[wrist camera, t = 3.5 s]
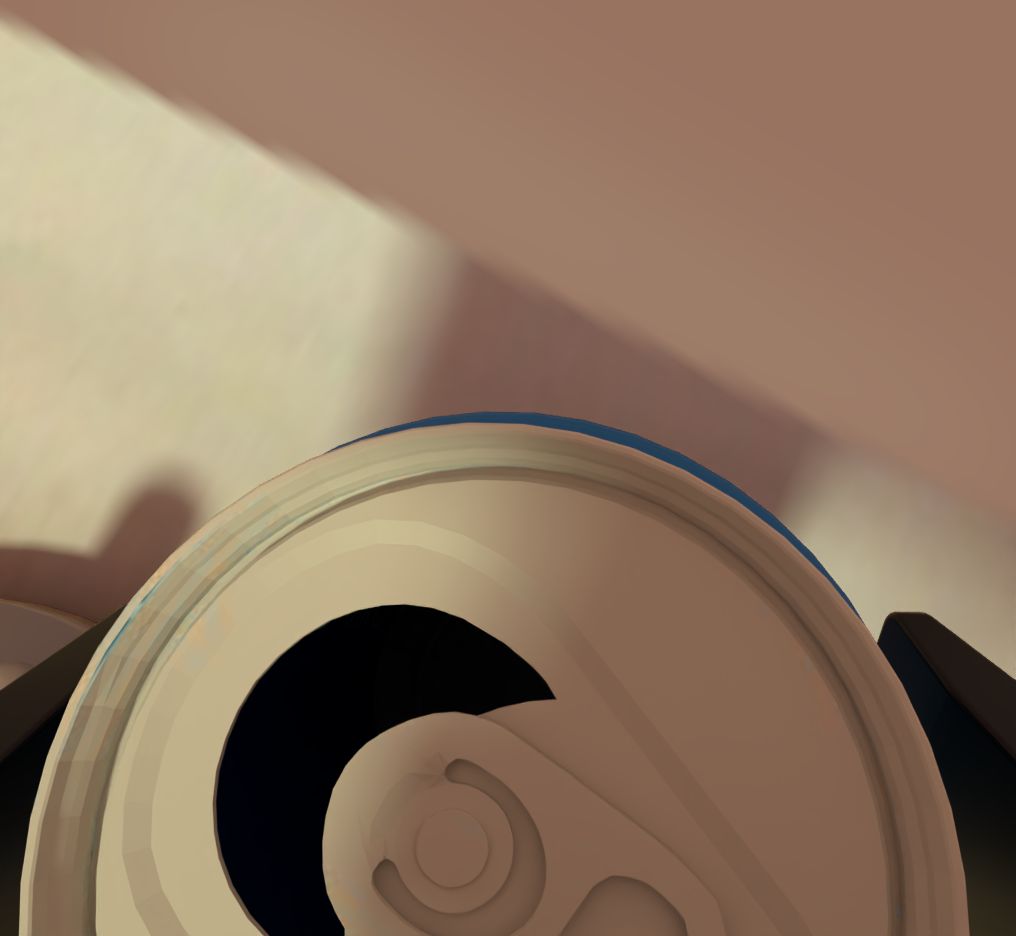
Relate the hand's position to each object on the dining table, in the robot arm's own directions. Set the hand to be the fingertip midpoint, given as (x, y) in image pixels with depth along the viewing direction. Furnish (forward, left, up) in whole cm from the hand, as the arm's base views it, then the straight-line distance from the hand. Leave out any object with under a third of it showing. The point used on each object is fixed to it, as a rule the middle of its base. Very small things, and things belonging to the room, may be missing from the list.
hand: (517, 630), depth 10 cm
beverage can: (-1, +1, -7) cm, 7 cm away
